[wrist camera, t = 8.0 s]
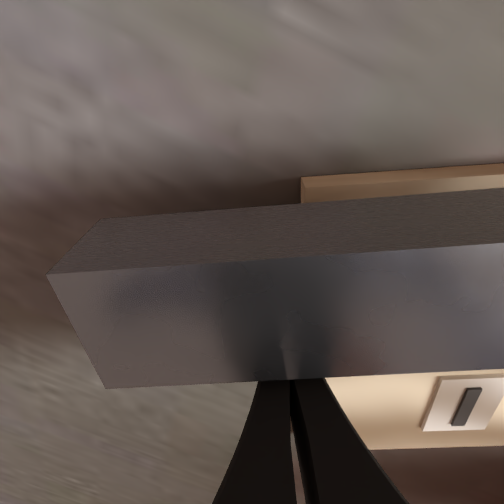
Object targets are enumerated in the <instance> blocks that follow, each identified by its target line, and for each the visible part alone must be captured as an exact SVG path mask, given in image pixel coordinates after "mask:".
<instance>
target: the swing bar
mask: <svg viewBox="0 0 504 504" xmlns="http://www.w3.org/2000/svg"><path fill="white" fill-rule="evenodd" d="M46 277H47V279H48V280H49V282H50V284H51V286H52V288H53V290H54V292H55V294H56V296H57V298H58V299H59V301H60V303H61V305H62V307H63V309H64V311H65V313H66V315H67V317H68V318H69V320H70V322H71V324H72V326H73V328H74V330H75V332H76V334H77V336H78V337H79V339H80V341H81V343H82V345H83V347H84V349H85V351H86V353H87V355H88V356H89V358H90V360H91V362H92V364H93V366H94V368H95V370H96V372H97V374H98V375H99V377H100V379H101V381H102V383H103V385H104V387H105V389H112V388H132V387H152V386H172V385H192V384H212V383H232V382H252V381H272V380H291V379H311V378H331V377H351V376H371V375H391V374H411V373H431V372H451V371H471V370H491V369H504V188H492V189H479V190H466V191H453V192H440V193H427V194H414V195H402V196H389V197H376V198H363V199H350V200H337V201H325V202H312V203H299V204H286V205H273V206H260V207H247V208H235V209H222V210H209V211H196V212H183V213H170V214H157V215H145V216H132V217H119V218H106V219H100V220H99V221H98V222H97V223H96V224H95V225H94V226H93V227H92V228H91V229H90V230H89V231H88V232H87V233H86V234H85V235H84V236H83V237H82V238H81V239H80V240H79V241H78V242H77V243H76V244H75V245H74V246H73V247H72V248H71V249H70V250H69V251H68V252H67V253H66V254H65V255H64V256H63V257H62V258H61V259H60V260H59V261H58V263H57V264H56V265H55V266H54V267H53V268H52V269H51V270H50V271H49V272H48V273H47V274H46Z"/></svg>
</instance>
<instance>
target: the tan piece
mask: <svg viewBox="0 0 504 504" xmlns="http://www.w3.org/2000/svg"><path fill="white" fill-rule="evenodd" d="M492 188H504V163H499V164H484V165H470V166H455V167H441V168H427V169H412V170H398V171H383V172H369V173H354V174H340V175H325V176H311V177H301V203H312V202H325V201H337V200H350V199H363V198H376V197H389V196H402V195H414V194H427V193H440V192H453V191H466V190H479V189H492ZM325 379H326V381H327V383H328V385H329V387H330V388H331V390H332V392H333V394H334V395H335V397H336V399H337V401H338V402H339V404H340V406H341V407H342V409H343V411H344V412H345V414H346V416H347V417H348V419H349V420H350V422H351V424H352V425H353V427H354V428H355V430H356V431H357V433H358V434H359V436H360V437H361V439H362V440H363V442H364V443H365V445H366V446H367V448H368V449H369V450H379V449H410V448H442V447H473V446H504V369H491V370H471V371H451V372H431V373H411V374H391V375H371V376H351V377H331V378H325Z"/></svg>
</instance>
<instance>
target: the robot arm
mask: <svg viewBox="0 0 504 504" xmlns="http://www.w3.org/2000/svg"><path fill="white" fill-rule="evenodd" d="M290 416H291V421H292V427H293V433H294V438H295V444H296V449H297V455H298V461H299V466H300V472H301V477H302V483H303V488H304V494H305V501H306V504H409V503H408V502H407V500H406V499H405V498H404V497H403V495H402V494H401V493H400V491H399V490H398V489H397V487H396V486H395V485H394V483H393V482H392V481H391V480H390V478H389V477H388V476H387V474H386V473H385V472H384V470H383V469H382V467H381V466H380V465H379V463H378V462H377V460H376V459H375V458H374V456H373V455H372V454H371V452H370V451H369V449H368V448H367V446H366V445H365V443H364V442H363V440H362V439H361V437H360V436H359V434H358V433H357V431H356V430H355V428H354V427H353V425H352V424H351V422H350V420H349V419H348V417H347V416H346V414H345V412H344V411H343V409H342V407H341V406H340V404H339V402H338V401H337V399H336V397H335V395H334V394H333V392H332V390H331V388H330V387H329V385H328V383H327V381H326V379H325V378H311V379H291V380H272V381H258V384H257V388H256V391H255V395H254V398H253V402H252V405H251V408H250V411H249V414H248V417H247V420H246V423H245V426H244V429H243V432H242V434H241V437H240V440H239V442H238V445H237V448H236V450H235V453H234V455H233V458H232V460H231V462H230V465H229V467H228V469H227V472H226V474H225V476H224V479H223V481H222V483H221V485H220V487H219V490H218V492H217V494H216V496H215V498H214V501H213V503H212V504H297V501H296V492H295V482H294V473H293V463H292V453H291V442H290Z"/></svg>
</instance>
